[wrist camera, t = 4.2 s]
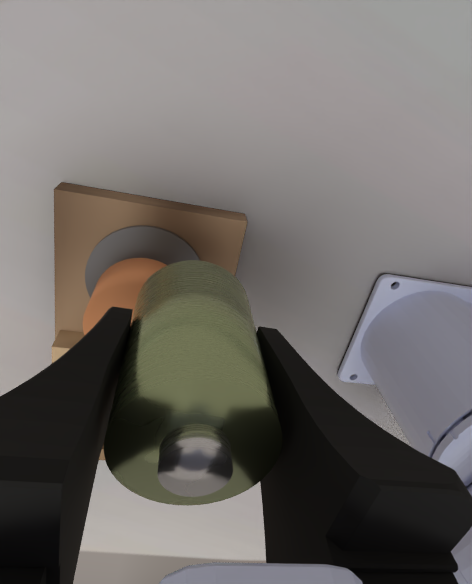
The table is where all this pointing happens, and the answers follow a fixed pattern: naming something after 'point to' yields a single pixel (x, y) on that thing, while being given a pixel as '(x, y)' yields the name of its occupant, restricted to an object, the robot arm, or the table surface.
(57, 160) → the table surface
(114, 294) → the button
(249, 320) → the cell
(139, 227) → the board
